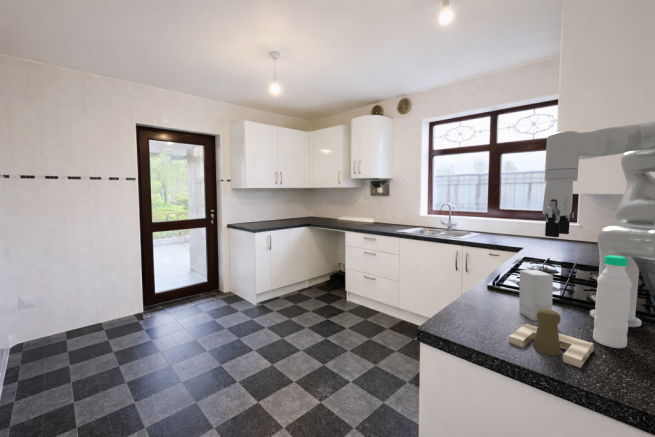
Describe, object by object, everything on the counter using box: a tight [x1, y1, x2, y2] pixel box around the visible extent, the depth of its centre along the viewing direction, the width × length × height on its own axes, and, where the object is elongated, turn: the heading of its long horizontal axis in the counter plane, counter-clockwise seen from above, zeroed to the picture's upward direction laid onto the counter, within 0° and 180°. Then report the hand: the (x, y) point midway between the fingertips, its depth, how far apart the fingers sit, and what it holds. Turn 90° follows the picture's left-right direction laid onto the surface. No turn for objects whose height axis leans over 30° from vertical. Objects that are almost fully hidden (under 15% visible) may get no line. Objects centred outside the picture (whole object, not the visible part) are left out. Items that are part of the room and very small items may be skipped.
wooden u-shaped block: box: [508, 323, 594, 368], centre depth 84 cm, size 13×16×2 cm
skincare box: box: [518, 269, 554, 322], centre depth 104 cm, size 8×7×16 cm
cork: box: [532, 309, 561, 357], centre depth 82 cm, size 6×6×11 cm
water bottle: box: [592, 255, 632, 349], centre depth 85 cm, size 7×7×25 cm
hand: (557, 235), depth 88 cm, fingers open, 9 cm apart
